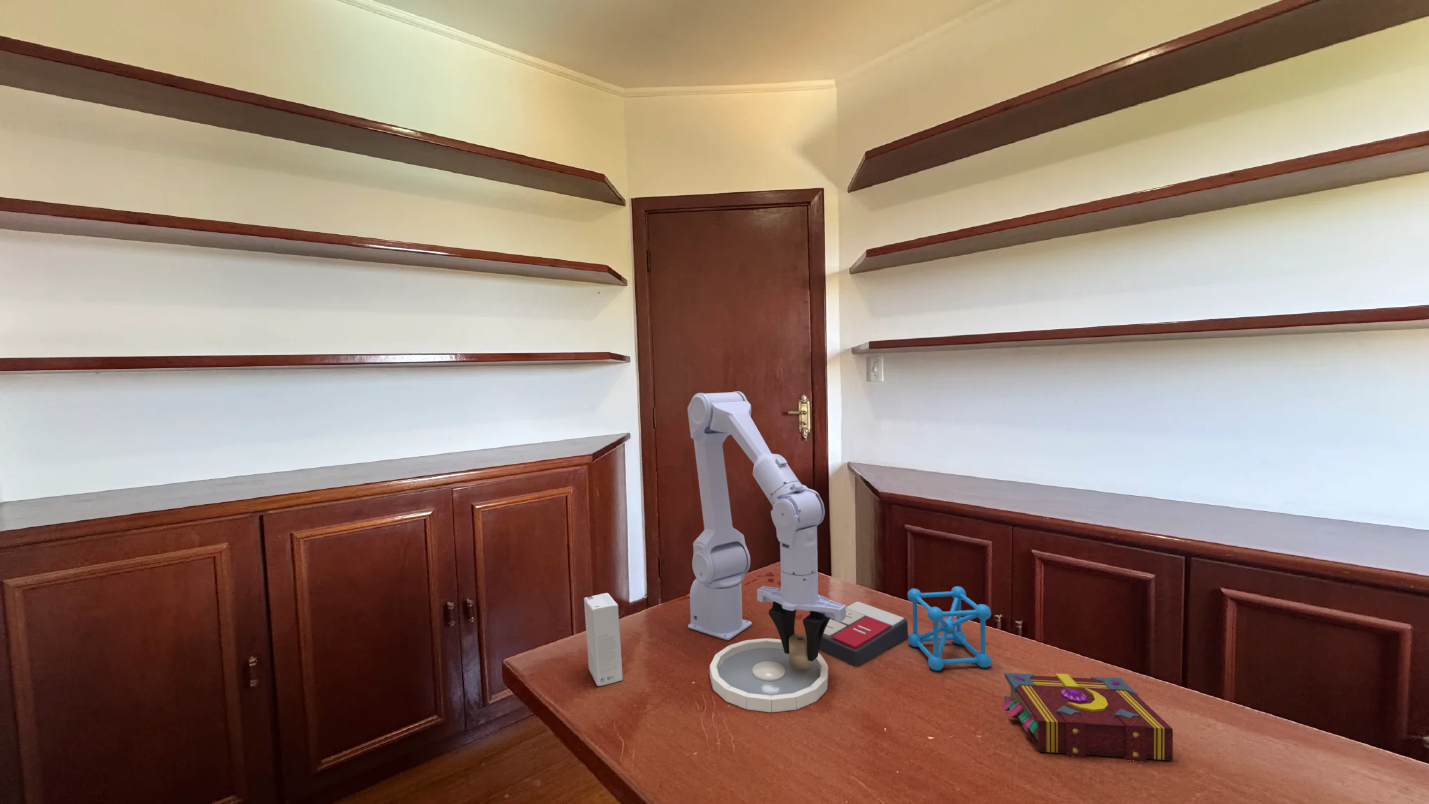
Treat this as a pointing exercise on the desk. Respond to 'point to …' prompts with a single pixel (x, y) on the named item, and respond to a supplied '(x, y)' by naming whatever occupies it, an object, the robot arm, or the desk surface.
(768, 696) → the ring tray
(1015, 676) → the decorative book
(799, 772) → the desk surface
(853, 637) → the calculator
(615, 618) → the skincare box
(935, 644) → the molecular structure
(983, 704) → the desk surface
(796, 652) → the wooden bead
